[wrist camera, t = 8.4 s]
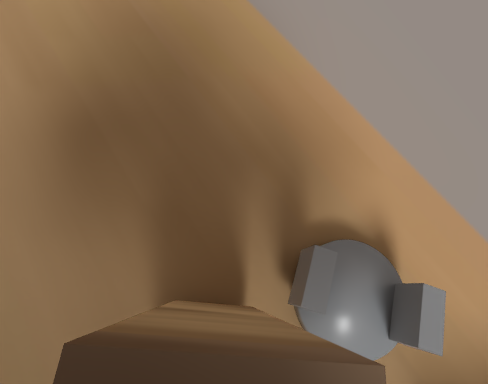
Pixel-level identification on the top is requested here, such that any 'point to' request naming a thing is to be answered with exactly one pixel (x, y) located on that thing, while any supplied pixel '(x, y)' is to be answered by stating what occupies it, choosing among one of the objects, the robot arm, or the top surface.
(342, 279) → the grey rounded piece
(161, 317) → the wooden block
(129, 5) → the top surface
